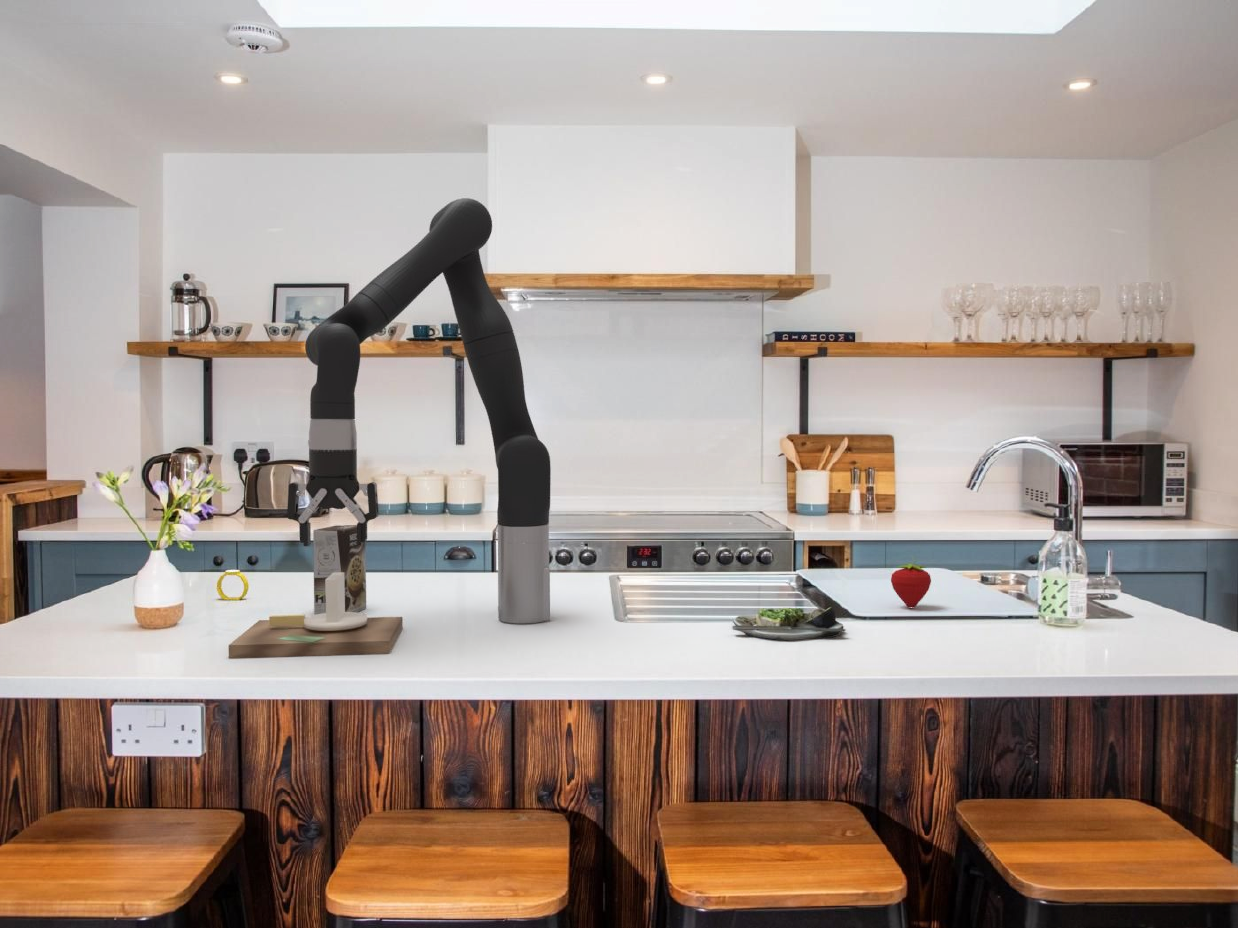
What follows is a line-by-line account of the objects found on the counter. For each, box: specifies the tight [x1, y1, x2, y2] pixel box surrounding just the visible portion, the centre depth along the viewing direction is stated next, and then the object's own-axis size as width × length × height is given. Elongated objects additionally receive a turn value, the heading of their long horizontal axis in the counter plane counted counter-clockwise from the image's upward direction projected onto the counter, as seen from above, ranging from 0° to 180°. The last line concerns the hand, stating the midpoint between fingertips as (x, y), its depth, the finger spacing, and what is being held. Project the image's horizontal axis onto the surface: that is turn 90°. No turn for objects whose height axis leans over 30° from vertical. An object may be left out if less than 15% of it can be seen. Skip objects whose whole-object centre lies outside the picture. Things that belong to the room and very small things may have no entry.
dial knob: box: [268, 572, 368, 631], centre depth 160 cm, size 16×10×8 cm, turn 96°
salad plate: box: [732, 606, 846, 641], centre depth 166 cm, size 19×18×5 cm
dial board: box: [228, 616, 404, 659], centre depth 159 cm, size 24×18×2 cm
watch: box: [216, 569, 249, 601], centre depth 196 cm, size 6×3×6 cm, turn 87°
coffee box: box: [312, 524, 367, 615], centre depth 182 cm, size 9×6×16 cm
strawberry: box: [890, 555, 932, 608], centre depth 184 cm, size 6×8×10 cm
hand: (333, 545), depth 160 cm, fingers open, 8 cm apart
